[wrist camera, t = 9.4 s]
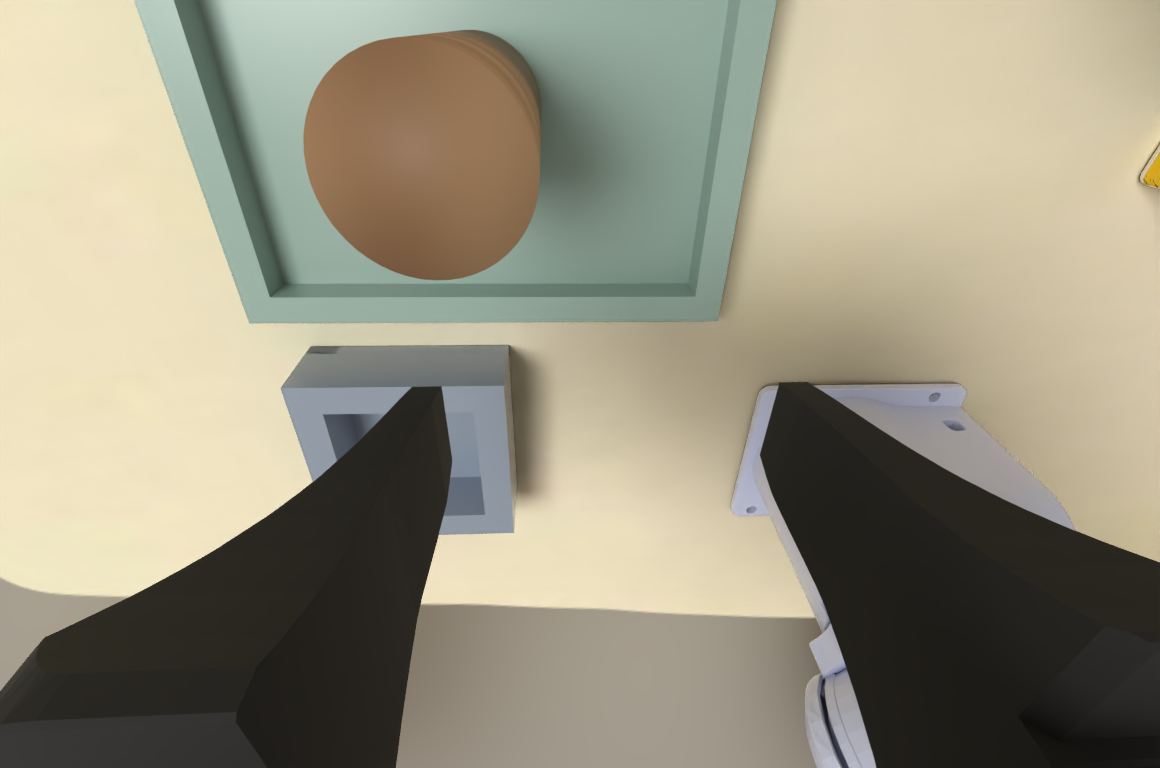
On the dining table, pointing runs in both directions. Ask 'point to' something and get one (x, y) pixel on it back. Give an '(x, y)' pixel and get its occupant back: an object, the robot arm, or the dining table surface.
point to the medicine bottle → (1152, 171)
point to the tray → (567, 153)
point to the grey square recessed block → (379, 379)
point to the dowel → (428, 151)
